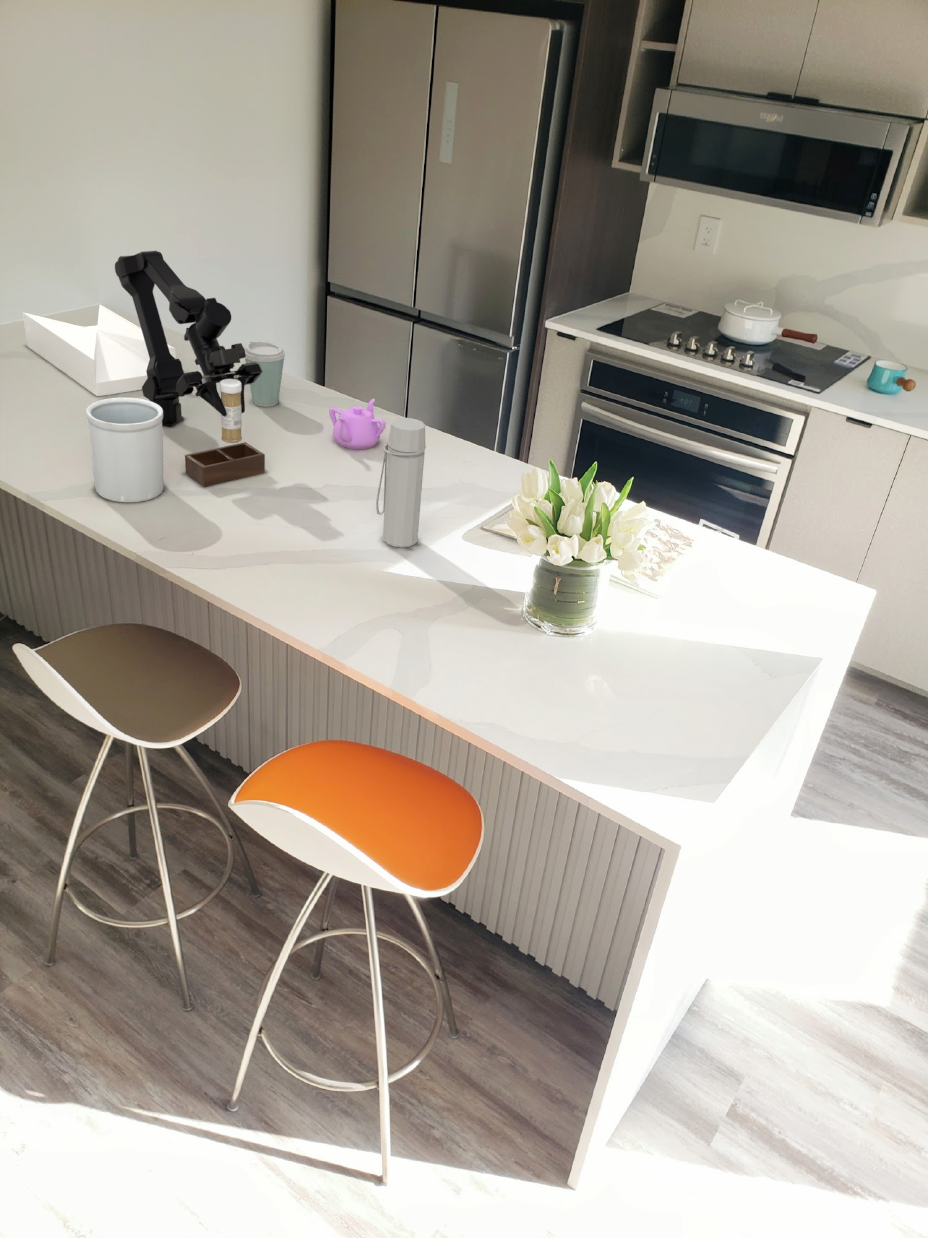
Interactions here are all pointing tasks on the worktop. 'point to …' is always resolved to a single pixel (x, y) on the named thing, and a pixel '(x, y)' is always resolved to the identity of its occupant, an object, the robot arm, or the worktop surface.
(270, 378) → the disposable coffee cup
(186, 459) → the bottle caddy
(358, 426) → the teapot
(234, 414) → the sprinkles bottle
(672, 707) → the worktop surface
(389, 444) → the water bottle
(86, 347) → the white shallow tray
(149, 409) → the utensil holder
